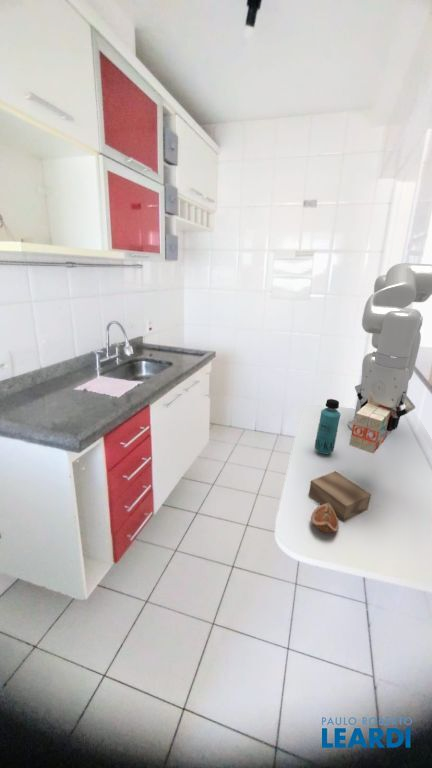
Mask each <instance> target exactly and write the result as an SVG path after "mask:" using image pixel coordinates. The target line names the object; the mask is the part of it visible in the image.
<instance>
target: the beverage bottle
mask: <svg viewBox="0 0 432 768" xmlns="http://www.w3.org/2000/svg"><path fill="white" fill-rule="evenodd" d="M339 406H340V401H339V400H337V399H333V398H328V399H327V400H326V403H325V408H323V409H321V411H320V415H319V417H320V418H319V423H318V426H317V430H316V432H317V433H316V437H315V441H314V449H315V451H316V452H318V453H320V454H324V455H328V454H329V455H330V454H332V453H333V452H334V450H335V447H336V446H335V445H336V440H337V435H338V428H339V425H340V424H339V423H340V419H341V418H340V417H341V413H340V411H339V410H338V409H339V408H340V407H339Z"/></svg>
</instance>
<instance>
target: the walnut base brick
mask: <svg viewBox="0 0 432 768" xmlns="http://www.w3.org/2000/svg"><path fill="white" fill-rule="evenodd" d="M308 491H309V493H308V496H309V497H310V498H311V499H313V500H314V501H315V502H316V503H318V504H319V506H320V505H322V504H325V503H328V502H329V503H330V505H331V506H332V508H333V510H334V511H335V514H336V516H337V519H338V520H339V521H341V522H342V523H344V522H346V521H348V520H350V519H352V518H354V517H357V516H358V515H360V514H362V513H364V512H366V511H368V510H369V507H370V501H371V497H372V494H371V492H368V491H367V490H365V489H364V488H363V487H360V486H359V485H357V484H356V483H355V482H353V481H351V480H350V479H349V478H347V477H345V476H344V475H342V474H341V473H339V472H338V471H336V470H334V471H332V472H329V473H327V474H325V475H321V476H320V477H316V478H314V479H312V480H311V481H310V487H309V490H308Z"/></svg>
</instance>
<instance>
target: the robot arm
mask: <svg viewBox="0 0 432 768" xmlns="http://www.w3.org/2000/svg"><path fill="white" fill-rule="evenodd" d="M373 286H374V287H373V294H371V295H370V296H369V298H368V299H367V301H366V302H365V305H364V310H363V314H362V319H361V326H362V329H363V330H364V332H366V333H368V334H372V335H371V345H372V347H373V348H374V349H376V351H372V352H370V353H367V354H366V355H365V356H364V357H363V359H362V364H361V368H362V369H361V379H360V384H358V385H355V386H354V390H355V392H356V397H357V401H356V405H355V409H354V416H353V419H352V420H349V422H348V424H347V425H348V428H349V429H350V430H351V431H352V429H353V424H354V422H355V417H356V413H357V412H358V411H359V410H360V409H361V408H362V407H363V406H365V405H366V404H367V402H368V398H369V394H370V392H371V393H373V399H372V401H373V402H375V403H377V404H380V405H382V406H385V407H388V408H390V410H391V413H392V416H391V417H390V418H389V422H388V426H387V431H391V432H392V431H394V430H396V429H397V428H398V427H399V423H400V419H401V417H403V416H405V415H407V414H409V413H410V412H412V411H414V410H415V409H416V406H415V403H413V401H411V399H410V398H409V396H408V395H407V394H408V388H409V381H411V379H412V377H413V375H414V371H415V366H416V363H417V359H418V354H419V349H420V346H421V345H420V344H421V337H422V335H421V334H422V333H421V332H420V331H421V328H422V325H423V320H424V318H423V316H422V313H421V312H420V311H419V310H418V309H416V308H411V307H410V308H407V307H408V306H410V305H411V304H412V303H424V302H426V301H428V300H429V298H430V297H431V296H432V263H429V264H428V263H412V262H411V263H410V262H409V263H407V262H405V263H404V262H403V263H402V262H401V263H396V264H394V265H393V266H391V267H390V268H389V269H388V270H387V272H386V274H382V275H380V276H378V277H377V278H376V279H375V282H374V285H373ZM404 405H405V408H403V409H402V406H404Z"/></svg>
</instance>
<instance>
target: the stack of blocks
mask: <svg viewBox="0 0 432 768" xmlns="http://www.w3.org/2000/svg"><path fill="white" fill-rule="evenodd" d="M372 399H373V393H371V392H370V394H369V398H368V402H367V404H366V405H365V406H363V407H362V408H361V409H360V410H359V411H358V412H357V413H356V417H355V422H354V424H353V429H352V430H351V435H350V439H349V443H348V444H349V445H348V446H349V447H350V446H351V447H353V448H355V449H358V450H361V451H364V452H367V453H370V454H372V455H373V454H374V453H376V451H377V450H378V449H379V448H380V447H381V445H382V444H383V443H384V442H385V440H386V439H387V437H388V436H389V435H390V434H391V432H392V431H387V426H388V422H389V418H390V417H391V416H392V413H391V410H390V408H388V407H385V406H382V405H380V404H377V403H375V402H373V401H372ZM374 455H375V454H374Z"/></svg>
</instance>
